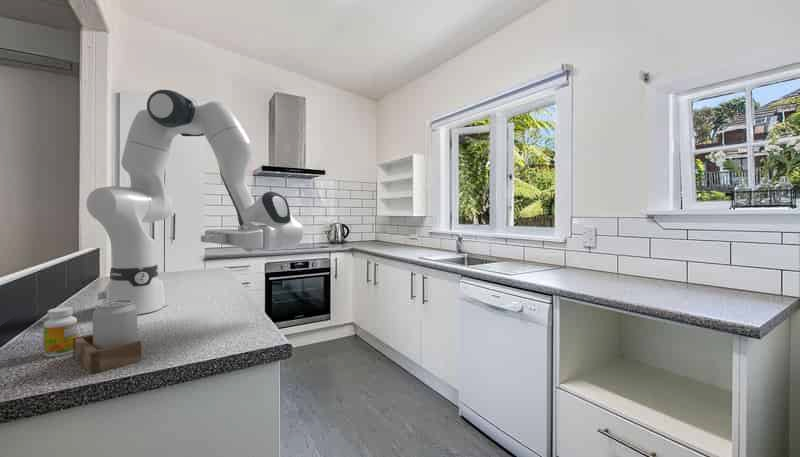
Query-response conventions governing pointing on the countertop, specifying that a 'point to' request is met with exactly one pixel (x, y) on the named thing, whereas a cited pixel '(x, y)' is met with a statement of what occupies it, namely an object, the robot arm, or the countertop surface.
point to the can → (114, 323)
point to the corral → (104, 354)
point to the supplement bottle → (59, 332)
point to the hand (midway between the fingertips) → (203, 239)
